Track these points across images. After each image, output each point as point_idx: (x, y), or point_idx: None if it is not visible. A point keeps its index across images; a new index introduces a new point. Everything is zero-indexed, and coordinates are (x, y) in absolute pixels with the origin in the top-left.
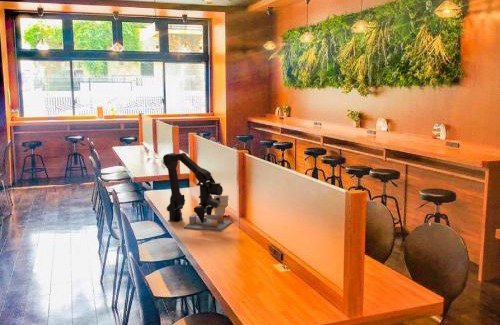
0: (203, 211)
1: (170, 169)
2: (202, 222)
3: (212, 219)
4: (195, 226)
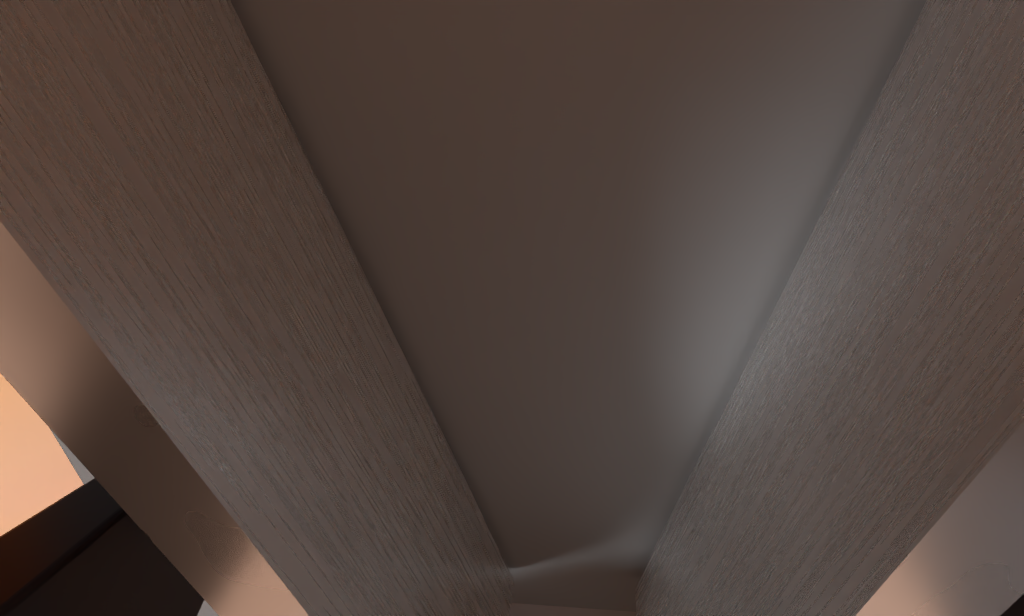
0: None
1: None
2: None
3: None
4: None
